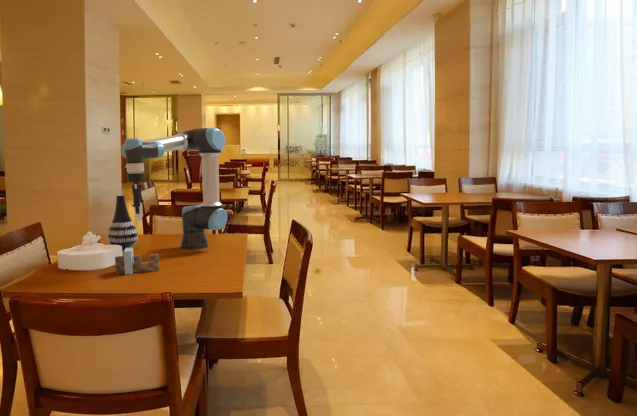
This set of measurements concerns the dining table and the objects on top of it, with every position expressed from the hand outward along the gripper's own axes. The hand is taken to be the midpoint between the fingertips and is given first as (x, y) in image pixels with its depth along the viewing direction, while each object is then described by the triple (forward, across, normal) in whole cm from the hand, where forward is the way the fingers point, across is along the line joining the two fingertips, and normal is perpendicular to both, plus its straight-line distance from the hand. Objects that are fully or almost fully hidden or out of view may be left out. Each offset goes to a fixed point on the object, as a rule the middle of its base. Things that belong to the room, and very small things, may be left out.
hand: (139, 218), depth 242 cm
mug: (+22, -36, -27) cm, 50 cm away
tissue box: (+22, -13, -24) cm, 35 cm away
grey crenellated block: (+22, +11, -2) cm, 25 cm away
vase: (+23, -51, -13) cm, 57 cm away
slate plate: (+22, +11, -5) cm, 25 cm away
